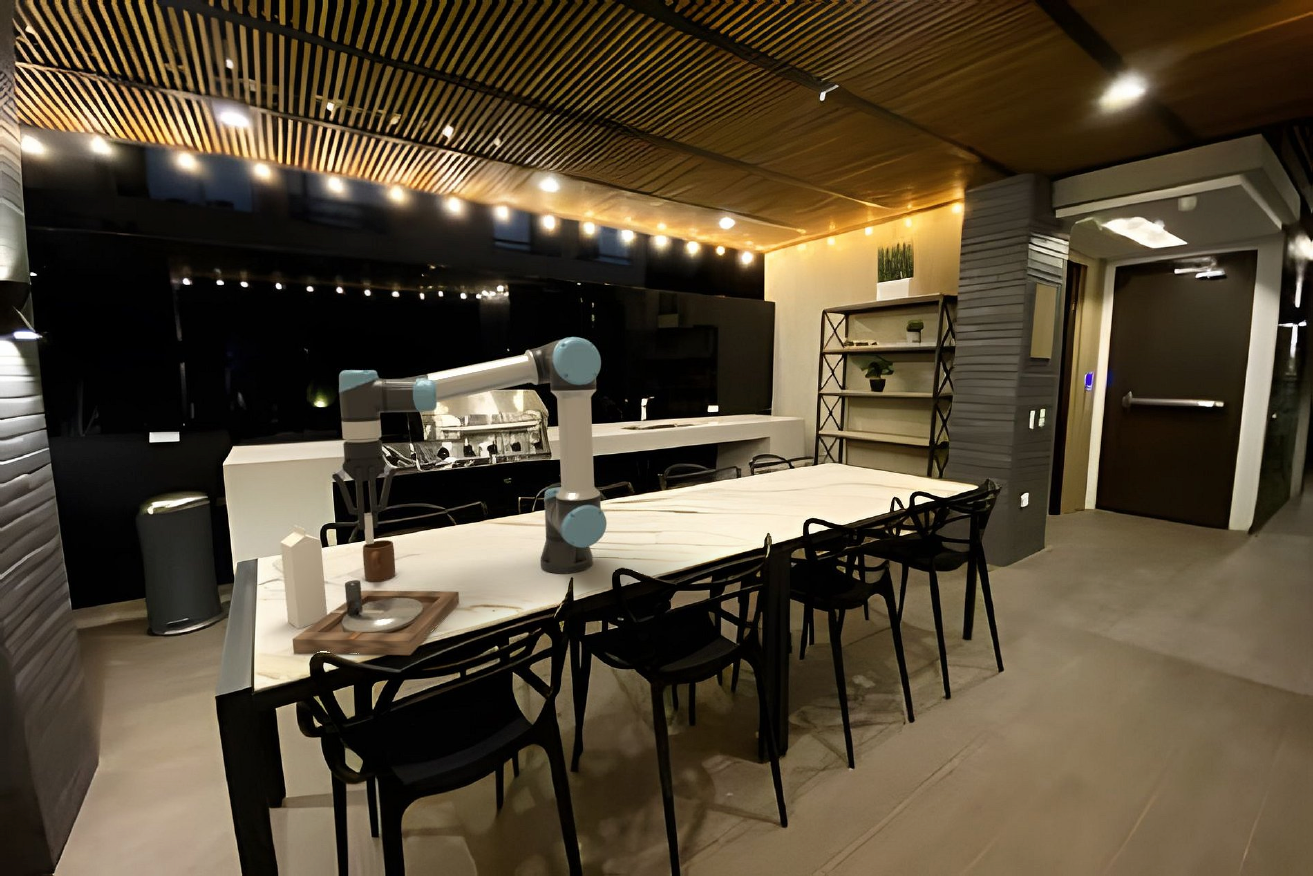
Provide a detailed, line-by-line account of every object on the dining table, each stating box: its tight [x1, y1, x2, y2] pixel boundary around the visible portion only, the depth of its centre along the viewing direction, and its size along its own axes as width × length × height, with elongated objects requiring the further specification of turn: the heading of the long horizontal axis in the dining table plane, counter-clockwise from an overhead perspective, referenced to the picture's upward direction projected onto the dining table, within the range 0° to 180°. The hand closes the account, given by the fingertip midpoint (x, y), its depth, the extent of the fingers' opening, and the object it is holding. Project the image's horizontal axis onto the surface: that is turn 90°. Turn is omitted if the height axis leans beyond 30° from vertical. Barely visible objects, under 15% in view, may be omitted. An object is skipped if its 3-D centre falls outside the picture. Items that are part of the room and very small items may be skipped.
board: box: [292, 589, 460, 656], centre depth 119 cm, size 24×24×3 cm
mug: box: [362, 539, 396, 583], centre depth 145 cm, size 12×8×9 cm, turn 20°
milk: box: [280, 524, 328, 630], centre depth 120 cm, size 6×6×22 cm
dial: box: [342, 579, 423, 633], centre depth 118 cm, size 16×16×8 cm
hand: (369, 542), depth 121 cm, fingers closed
